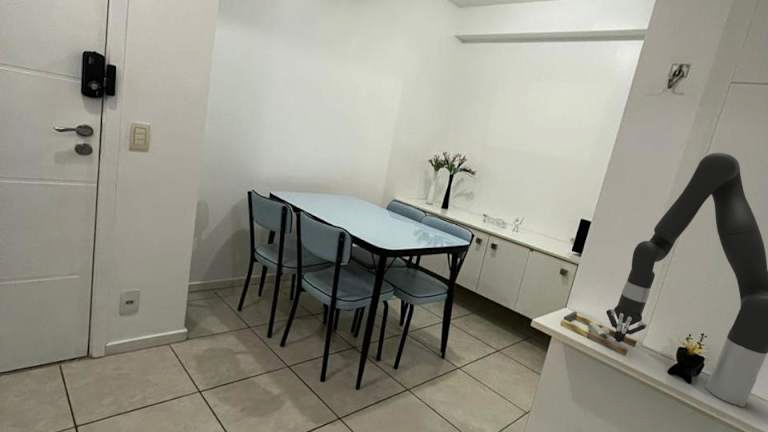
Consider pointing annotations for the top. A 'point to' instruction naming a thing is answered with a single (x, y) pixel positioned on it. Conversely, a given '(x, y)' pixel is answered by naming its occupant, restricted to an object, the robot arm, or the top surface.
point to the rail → (574, 316)
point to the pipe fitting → (599, 330)
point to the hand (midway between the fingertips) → (617, 341)
